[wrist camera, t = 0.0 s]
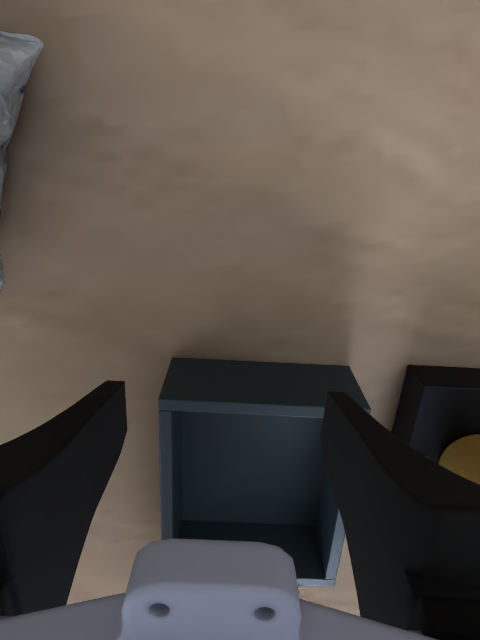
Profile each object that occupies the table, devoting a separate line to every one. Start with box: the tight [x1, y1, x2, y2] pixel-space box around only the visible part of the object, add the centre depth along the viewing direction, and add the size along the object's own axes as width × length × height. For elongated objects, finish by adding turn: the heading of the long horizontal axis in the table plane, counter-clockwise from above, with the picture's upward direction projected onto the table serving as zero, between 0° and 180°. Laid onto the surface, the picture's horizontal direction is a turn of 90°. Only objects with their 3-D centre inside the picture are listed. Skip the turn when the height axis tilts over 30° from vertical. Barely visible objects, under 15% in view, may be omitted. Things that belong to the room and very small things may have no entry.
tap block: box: [392, 365, 480, 464], centre depth 26 cm, size 10×8×3 cm
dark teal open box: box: [158, 358, 371, 587], centre depth 26 cm, size 13×11×5 cm
